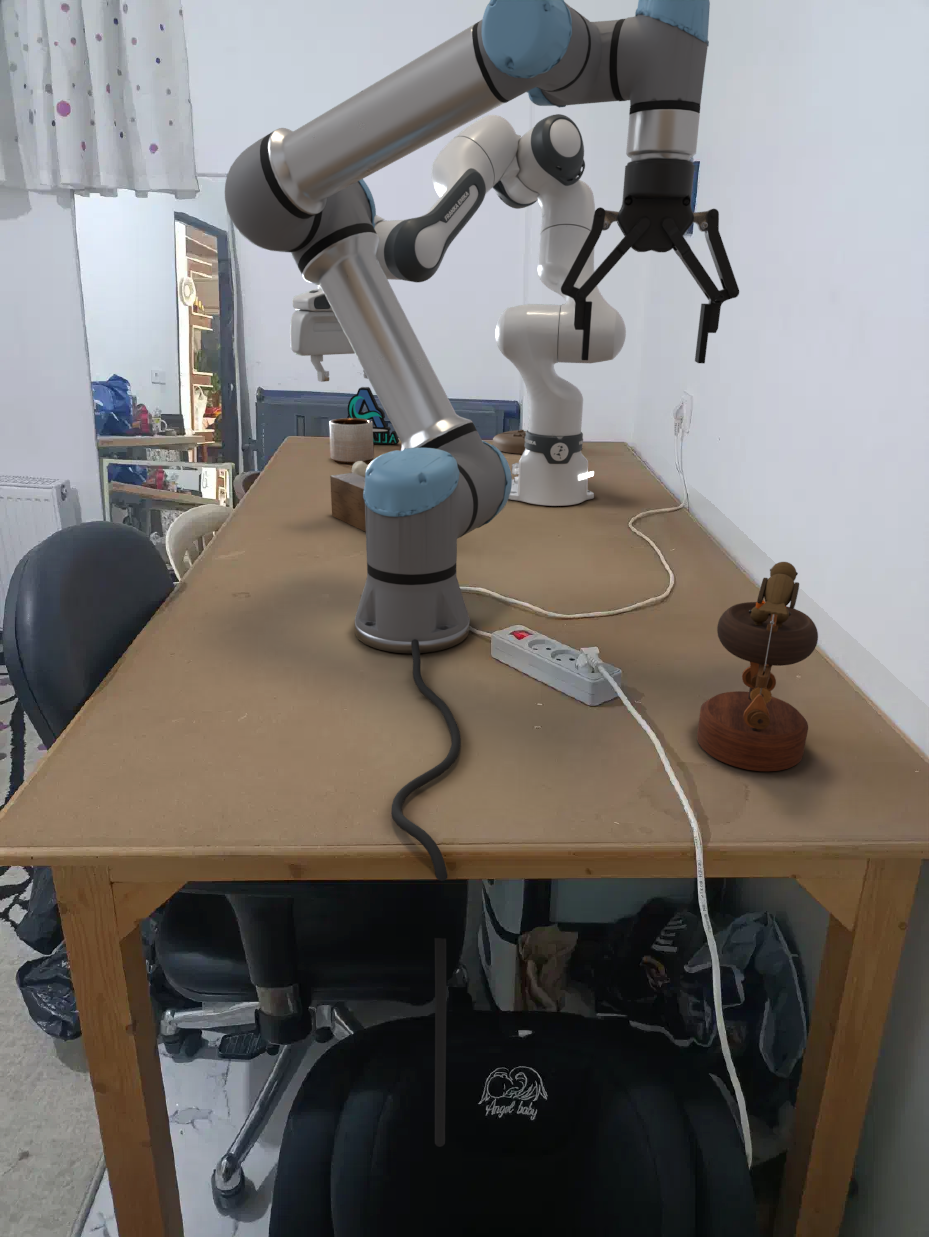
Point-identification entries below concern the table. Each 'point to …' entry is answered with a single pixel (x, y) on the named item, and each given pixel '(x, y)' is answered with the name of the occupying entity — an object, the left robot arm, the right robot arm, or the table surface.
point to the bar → (348, 499)
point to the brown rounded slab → (510, 441)
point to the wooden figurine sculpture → (760, 680)
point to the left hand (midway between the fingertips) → (641, 361)
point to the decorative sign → (371, 416)
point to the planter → (351, 440)
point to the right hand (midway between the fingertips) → (346, 379)
